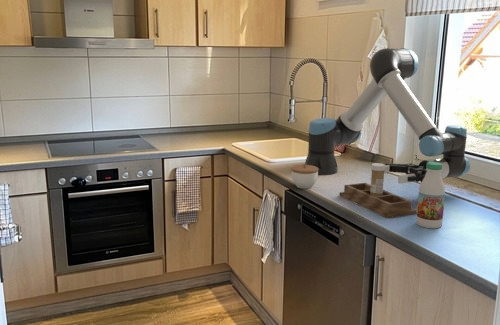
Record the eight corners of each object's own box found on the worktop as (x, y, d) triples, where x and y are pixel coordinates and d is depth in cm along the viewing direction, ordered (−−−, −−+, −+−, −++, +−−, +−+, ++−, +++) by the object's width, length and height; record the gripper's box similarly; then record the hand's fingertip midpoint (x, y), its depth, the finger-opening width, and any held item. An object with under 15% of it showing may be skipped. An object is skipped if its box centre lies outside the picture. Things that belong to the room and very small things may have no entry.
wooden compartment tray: (339, 195, 187) (339, 184, 186) (365, 192, 192) (366, 181, 191) (387, 218, 162) (388, 206, 161) (416, 213, 167) (417, 201, 166)
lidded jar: (300, 181, 207) (301, 159, 204) (322, 186, 200) (323, 163, 198) (285, 187, 198) (286, 164, 196) (308, 191, 192) (309, 168, 190)
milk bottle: (412, 220, 160) (417, 160, 156) (435, 220, 161) (441, 160, 156) (421, 229, 153) (427, 166, 148) (446, 229, 153) (452, 166, 149)
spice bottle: (367, 199, 179) (369, 162, 176) (380, 198, 179) (382, 162, 176) (371, 202, 175) (374, 165, 172) (384, 202, 175) (387, 165, 172)
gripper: (457, 187, 174) (409, 194, 166) (408, 171, 196) (364, 176, 188) (459, 166, 172) (411, 172, 164) (410, 153, 195) (365, 157, 186)
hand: (386, 174), depth 176 cm, fingers open, 13 cm apart
